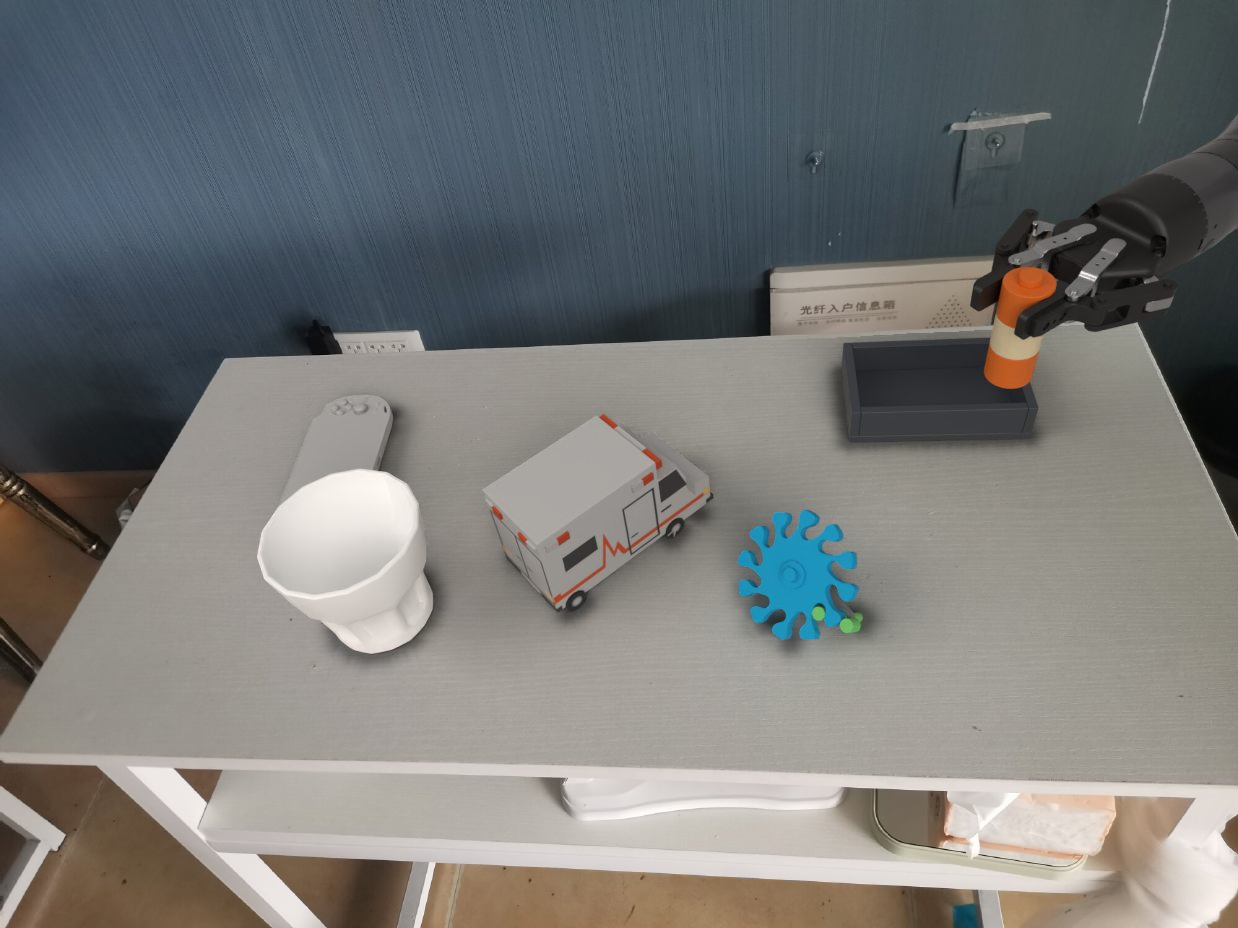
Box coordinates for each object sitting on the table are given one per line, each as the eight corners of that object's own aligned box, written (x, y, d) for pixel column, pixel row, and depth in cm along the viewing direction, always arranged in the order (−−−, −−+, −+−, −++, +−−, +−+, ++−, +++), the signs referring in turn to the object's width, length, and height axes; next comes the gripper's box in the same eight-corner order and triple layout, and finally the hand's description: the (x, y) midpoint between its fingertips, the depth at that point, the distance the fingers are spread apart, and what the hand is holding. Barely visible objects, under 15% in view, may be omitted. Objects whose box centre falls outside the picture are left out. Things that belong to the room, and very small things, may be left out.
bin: (1007, 367, 85) (1015, 336, 82) (1029, 439, 79) (1039, 408, 76) (840, 372, 87) (843, 342, 85) (849, 442, 81) (852, 413, 78)
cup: (281, 645, 74) (221, 567, 66) (371, 534, 81) (327, 451, 73) (400, 698, 69) (351, 621, 61) (484, 575, 76) (451, 491, 68)
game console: (351, 528, 78) (263, 531, 79) (360, 545, 80) (274, 548, 81) (395, 389, 90) (319, 394, 91) (402, 406, 92) (327, 410, 93)
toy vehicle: (722, 511, 77) (717, 431, 70) (565, 628, 71) (542, 554, 64) (651, 455, 83) (640, 376, 76) (500, 559, 77) (472, 484, 70)
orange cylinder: (1042, 373, 70) (1069, 274, 63) (1011, 396, 69) (1036, 297, 62) (1004, 352, 72) (1026, 253, 65) (973, 373, 71) (993, 275, 64)
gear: (710, 572, 71) (789, 481, 67) (748, 571, 76) (824, 486, 72) (798, 681, 65) (889, 588, 62) (833, 674, 70) (921, 587, 66)
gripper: (1097, 141, 70) (931, 228, 66) (1270, 215, 61) (1091, 321, 57) (1075, 222, 76) (920, 307, 71) (1231, 301, 67) (1065, 404, 62)
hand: (998, 313), depth 64 cm, fingers closed on orange cylinder, 3 cm apart
